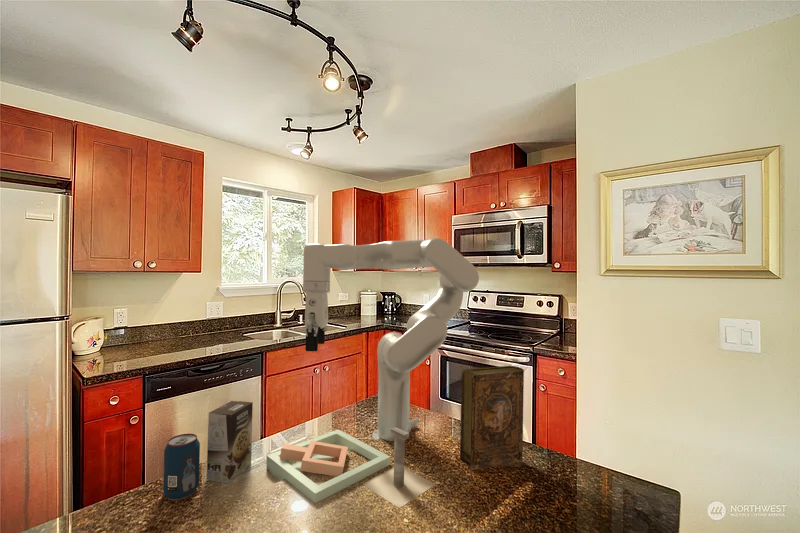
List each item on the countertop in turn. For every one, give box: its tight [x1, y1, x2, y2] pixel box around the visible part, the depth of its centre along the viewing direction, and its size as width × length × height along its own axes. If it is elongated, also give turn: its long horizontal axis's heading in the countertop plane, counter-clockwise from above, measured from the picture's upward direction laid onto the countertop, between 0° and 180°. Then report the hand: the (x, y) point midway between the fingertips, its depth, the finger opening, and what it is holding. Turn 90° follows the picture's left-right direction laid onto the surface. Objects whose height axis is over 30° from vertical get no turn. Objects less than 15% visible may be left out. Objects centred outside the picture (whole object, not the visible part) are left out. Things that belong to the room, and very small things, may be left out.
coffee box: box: [206, 400, 254, 484], centre depth 92 cm, size 9×6×16 cm
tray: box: [265, 429, 391, 504], centre depth 93 cm, size 22×22×4 cm
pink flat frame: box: [280, 441, 348, 477], centre depth 93 cm, size 16×10×2 cm, turn 92°
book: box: [459, 365, 525, 471], centre depth 97 cm, size 16×6×25 cm, turn 109°
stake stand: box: [362, 427, 436, 509], centre depth 85 cm, size 12×12×14 cm
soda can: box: [162, 433, 201, 501], centre depth 83 cm, size 7×7×12 cm
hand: (315, 347), depth 105 cm, fingers open, 9 cm apart
